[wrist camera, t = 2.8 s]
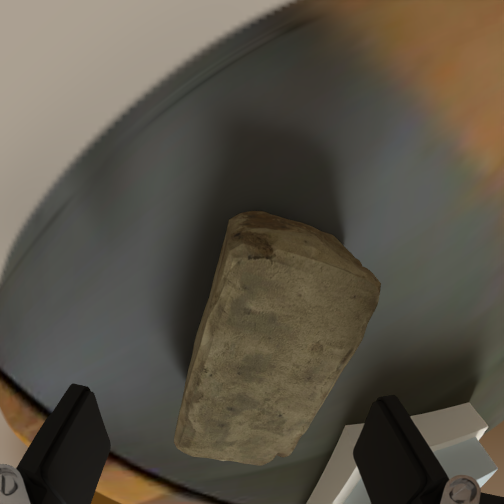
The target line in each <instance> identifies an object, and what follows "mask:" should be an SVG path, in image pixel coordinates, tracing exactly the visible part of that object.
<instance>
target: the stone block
mask: <svg viewBox="0 0 504 504" xmlns="http://www.w3.org/2000/svg"><path fill="white" fill-rule="evenodd" d="M380 287H381V283H380V282H379V281H378V279H377V278H376V277H375V276H374V274H373V273H372V272H371V271H370V270H368V269H367V268H365V267H362V264H361V263H360V261H359V260H358V259H356V258H355V257H354V256H353V255H352V254H351V253H350V252H349V251H348V250H347V249H346V248H345V247H344V246H343V245H342V244H341V243H340V242H339V240H337V239H336V238H335V237H334V236H333V235H331V234H328V233H326V232H322V231H320V230H318V229H316V228H314V227H312V226H310V225H307V224H304V223H301V222H297V221H293V220H289V219H285V218H282V217H279V216H276V215H271V214H269V213H267V212H263V211H248V212H244V213H240V214H238V215H236V216H234V217H233V218H231V219H229V222H228V226H227V231H226V235H225V239H224V242H223V246H222V249H221V253H220V257H219V261H218V264H217V268H216V271H215V275H214V279H213V284H212V288H211V292H210V296H209V299H208V302H207V304H206V307H205V310H204V313H203V316H202V319H201V322H200V325H199V328H198V331H197V335H196V338H195V342H194V347H193V354H192V358H191V361H190V365H189V369H188V374H187V379H186V383H185V389H184V394H183V399H182V404H181V408H180V412H179V416H178V421H177V426H176V431H175V437H174V443H175V445H176V447H177V448H178V449H179V450H181V451H182V452H184V453H186V454H188V455H191V456H193V457H204V458H212V459H217V460H221V461H224V460H228V461H235V462H240V463H244V464H254V465H264V464H266V463H268V462H270V461H272V460H273V459H274V457H275V456H276V455H278V456H280V457H286V456H289V455H290V454H291V453H292V451H293V450H294V448H295V447H296V445H297V443H298V441H299V439H300V437H301V436H302V435H303V434H304V433H305V432H306V431H307V429H308V427H309V425H310V424H311V422H312V420H313V418H314V416H315V415H316V413H317V412H318V410H319V409H320V407H321V405H322V404H323V402H324V400H325V399H326V397H327V395H328V394H329V392H330V391H331V389H332V387H333V386H334V384H335V382H336V380H337V379H338V377H339V375H340V373H341V372H342V370H343V369H344V368H345V366H346V365H347V363H348V362H349V360H350V359H351V357H352V356H353V354H354V353H355V351H356V350H357V348H358V346H359V344H360V343H361V341H362V339H363V337H364V333H365V330H366V327H367V324H368V322H369V320H370V318H371V316H372V314H373V312H374V311H375V309H376V307H377V304H378V300H379V294H380Z"/></svg>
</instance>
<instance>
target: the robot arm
mask: <svg viewBox="0 0 504 504" xmlns="http://www.w3.org/2000/svg"><path fill="white" fill-rule="evenodd" d="M110 446H111V444H110V440H109V437H108V434H107V432H106V429H105V426H104V423H103V420H102V417H101V414H100V411H99V408H98V404H97V401H96V398H95V395H94V393H93V392H91V391H90V389H89V388H88V387H86V386H82V385H77V384H71V385H70V387H69V388H68V390H67V391H66V393H65V394H64V396H63V397H62V399H61V400H60V402H59V403H58V405H57V406H56V408H55V409H54V411H53V412H52V414H51V415H49V416H48V418H47V419H46V420H45V422H44V424H43V425H42V427H41V428H40V430H39V431H38V433H37V435H36V436H35V438H34V440H33V441H32V443H31V444H30V446H29V448H28V450H27V451H26V453H25V454H24V456H23V458H22V460H21V461H20V463H19V465H18V467H17V468H14V467H12V466H10V465H7V464H0V504H91V501H92V498H93V496H94V493H95V490H96V487H97V484H98V481H99V478H100V476H101V473H102V470H103V467H104V465H105V462H106V459H107V457H108V454H109V451H110ZM353 457H354V460H355V463H356V465H357V468H358V470H359V473H360V476H361V478H362V481H363V483H364V486H365V488H366V491H367V494H368V496H369V499H370V502H371V504H504V497H500V496H495V495H490V494H485V493H481V490H480V486H479V484H478V482H477V481H476V480H475V479H474V478H472V477H470V476H467V475H457V476H454V477H453V478H451V479H449V477H448V476H447V474H446V472H445V471H444V469H443V467H442V466H441V464H440V463H439V461H438V459H437V458H436V456H435V455H434V453H433V451H432V450H431V448H430V447H429V445H428V444H427V442H426V441H425V439H424V437H423V436H422V434H421V433H420V431H419V430H418V428H417V427H416V425H415V424H414V422H413V420H412V419H411V417H410V416H409V414H408V413H407V411H406V410H405V408H404V407H403V405H402V404H401V402H400V401H399V399H398V398H397V397H396V396H395V395H390V396H383V397H379V398H378V399H377V401H376V402H374V403H373V404H372V406H371V409H370V412H369V414H368V417H367V419H366V421H365V424H364V426H363V429H362V431H361V433H360V435H359V438H358V440H357V442H356V444H355V447H354V449H353Z"/></svg>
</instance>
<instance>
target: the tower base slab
mask: <svg viewBox="0 0 504 504" xmlns="http://www.w3.org/2000/svg"><path fill="white" fill-rule="evenodd" d="M410 417H411V419H412V420H413V422H414V424H415V425H416V427H417V428H418V430H419V431H420V433H421V434H422V436H423V437H424V439H425V441H426V442H427V444H428V445H429V447H430V448H431V450H432V451H433V452H434V451H437V450H440V449H443V448H446V447H449V446H452V445H455V444H458V443H461V442H463V441H466V440H469V439H471V438H474V437H476V438H477V439H478V441H479V439H480V438H481V437H482V435H483V434H484V432H485V431H486V429H487V428H488V425H487V424H486V423H485V421H484V420H483V419H482V418H481V416H480V415H479V414H478V413H477V411H476V410H475V409H474V408H473V407H472V405H471V404H470V403H469V402H468V403H464V404H461V405H457V406H453V407H449V408H445V409H441V410H437V411H433V412H428V413H424V414H419V415H414V416H410ZM364 424H365V423H362V424H353V425H345V427H344V429H343V432H342V434H341V436H340V438H339V441H338V443H337V445H336V447H335V449H334V451H333V454H332V456H331V458H330V460H329V462H328V464H327V466H326V468H325V470H324V472H323V474H322V476H321V478H320V479H319V481H318V483H317V485H316V487H315V489H314V491H313V492H312V494H311V496H310V498H309V500H308V501H307V503H306V504H343V503H344V501H345V500H346V499H347V497H348V496H349V495H350V493H351V492H352V490H353V489H354V487H355V486H356V485H357V483H358V482H359V480H360V479H361V476H360V473H359V470H358V468H357V465H356V463H355V460H354V457H353V449H354V447H355V444H356V442H357V440H358V438H359V435H360V433H361V431H362V429H363V426H364Z"/></svg>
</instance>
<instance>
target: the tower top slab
mask: <svg viewBox="0 0 504 504" xmlns="http://www.w3.org/2000/svg"><path fill="white" fill-rule="evenodd" d="M433 453H434V455H435V456H436V458H437V459H438V461H439V463H440V464H441V466H442V467H443V469H444V471H445V472H446V474H447V476H448V477H449V479H451V478H453V477H454V476H457V475H467V476H470V477H472V478H474V479H475V480H476V481H477V482H478V484H479V486H480V488H481V486H483V485H484V484H485V482H486V481H487V480H488V479H489V478H490V477H491V476H492V475H493V474H494V473H495V471H496V470H497V469H498V468H497V466H496V465H495V463H494V462H493V461H492V459H491V458H490V456H489V455H488V454H487V452H486V451H485V449H484V448H483V447H482V445H481V444H480V442H479V441H478V439H477V438H476V437H474V438H471V439H469V440H466V441H463V442H461V443H458V444H455V445H452V446H449V447H446V448H443V449H440V450H437V451H434V452H433ZM343 504H371V502H370V499H369V496H368V494H367V491H366V488H365V486H364V483H363V481H362V478H361V479H360V480H359V482H358V483H357V485H356V486H355V487H354V489H353V490H352V492H351V493H350V495H349V496H348V497H347V499H346V500H345V501H344V503H343Z"/></svg>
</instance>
